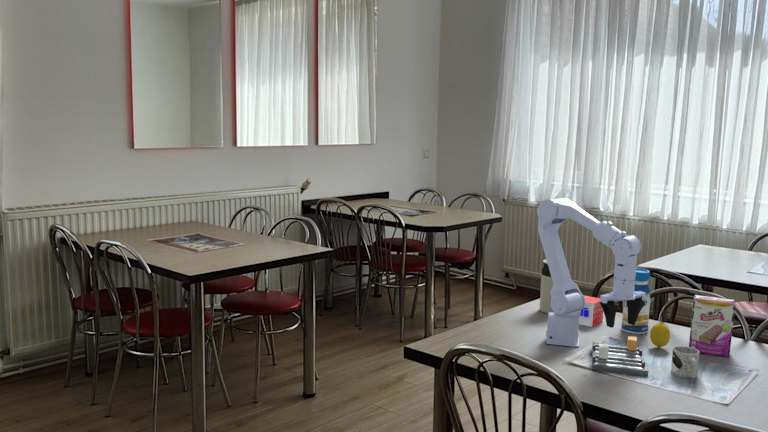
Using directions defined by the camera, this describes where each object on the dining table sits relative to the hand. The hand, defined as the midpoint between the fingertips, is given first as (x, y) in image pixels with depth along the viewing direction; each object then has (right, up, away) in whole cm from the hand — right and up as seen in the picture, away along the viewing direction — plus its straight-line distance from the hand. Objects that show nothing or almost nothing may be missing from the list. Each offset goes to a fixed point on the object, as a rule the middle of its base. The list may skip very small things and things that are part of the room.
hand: (620, 325), depth 201 cm
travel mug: (-8, -3, +48) cm, 49 cm away
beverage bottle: (+14, -6, +28) cm, 32 cm away
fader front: (-7, -9, -5) cm, 12 cm away
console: (-1, -10, -1) cm, 10 cm away
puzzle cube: (+1, -5, +37) cm, 37 cm away
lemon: (+15, -9, +11) cm, 20 cm away
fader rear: (+4, -8, +2) cm, 9 cm away
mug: (+14, -12, -11) cm, 22 cm away
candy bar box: (+29, -9, +8) cm, 31 cm away
